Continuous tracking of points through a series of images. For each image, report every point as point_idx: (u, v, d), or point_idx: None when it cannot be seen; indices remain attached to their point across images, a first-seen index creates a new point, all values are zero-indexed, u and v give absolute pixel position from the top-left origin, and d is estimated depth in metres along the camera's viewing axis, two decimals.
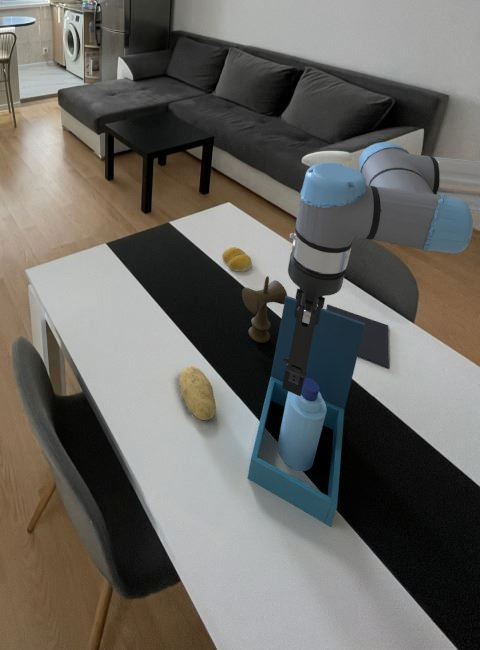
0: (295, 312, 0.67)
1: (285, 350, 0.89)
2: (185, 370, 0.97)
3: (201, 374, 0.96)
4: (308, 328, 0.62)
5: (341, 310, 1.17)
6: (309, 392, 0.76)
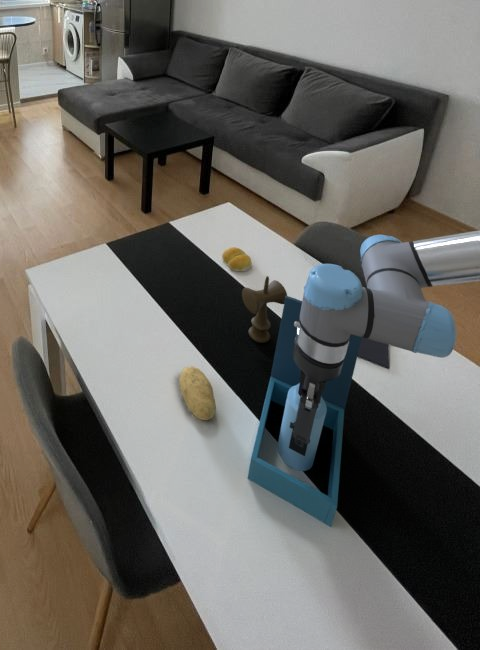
0: (299, 391, 0.75)
1: (285, 350, 0.89)
2: (185, 370, 0.97)
3: (201, 374, 0.96)
4: (310, 412, 0.71)
5: None
6: None
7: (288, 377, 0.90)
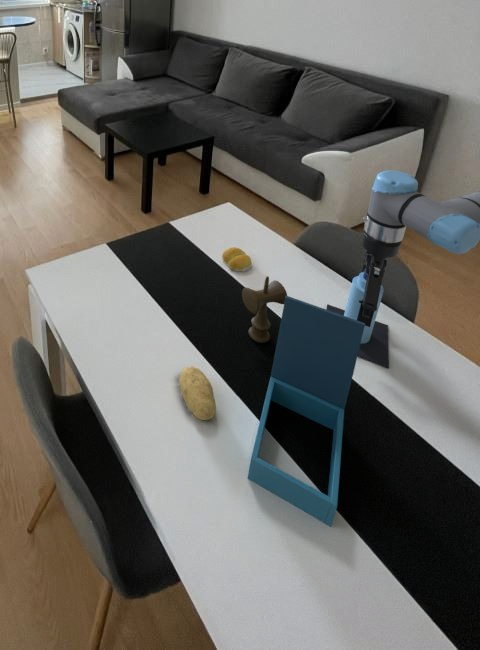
0: (366, 270, 0.99)
1: (285, 350, 0.89)
2: (185, 370, 0.97)
3: (201, 374, 0.96)
4: (378, 278, 0.95)
5: (341, 310, 1.17)
6: None
7: (288, 377, 0.90)
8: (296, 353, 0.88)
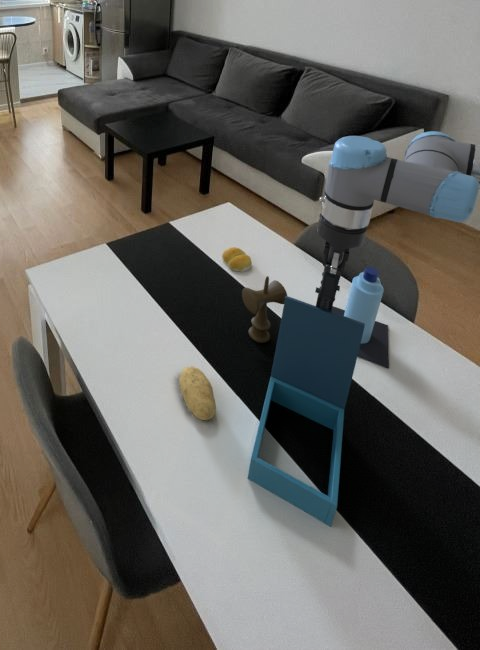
0: (324, 263, 0.80)
1: (285, 350, 0.89)
2: (185, 370, 0.97)
3: (201, 374, 0.96)
4: (334, 278, 0.77)
5: (341, 310, 1.17)
6: (371, 275, 1.01)
7: (288, 377, 0.90)
8: (296, 353, 0.88)
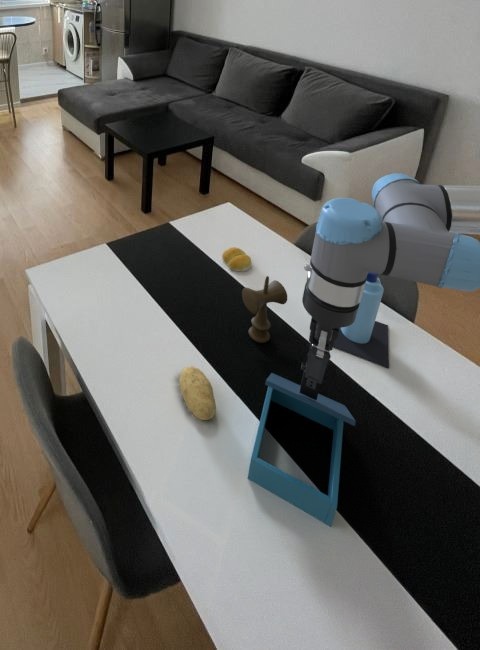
0: (310, 339, 0.70)
1: None
2: (185, 370, 0.97)
3: (201, 374, 0.96)
4: (322, 361, 0.66)
5: None
6: (371, 275, 1.01)
7: None
8: None
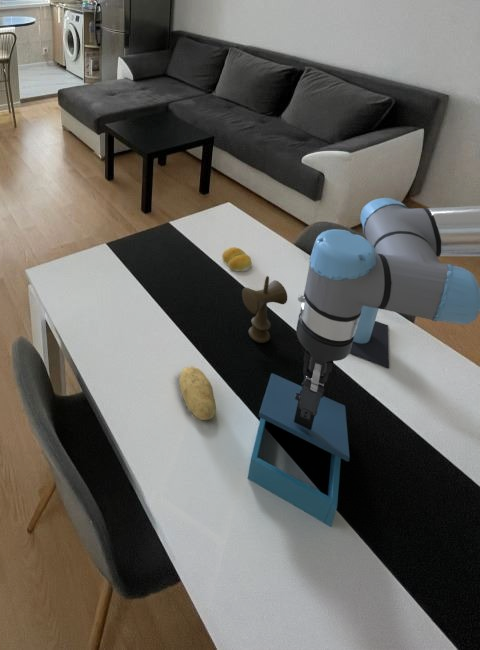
0: (304, 370, 0.69)
1: None
2: (185, 370, 0.97)
3: (201, 374, 0.96)
4: (316, 394, 0.65)
5: None
6: None
7: None
8: None
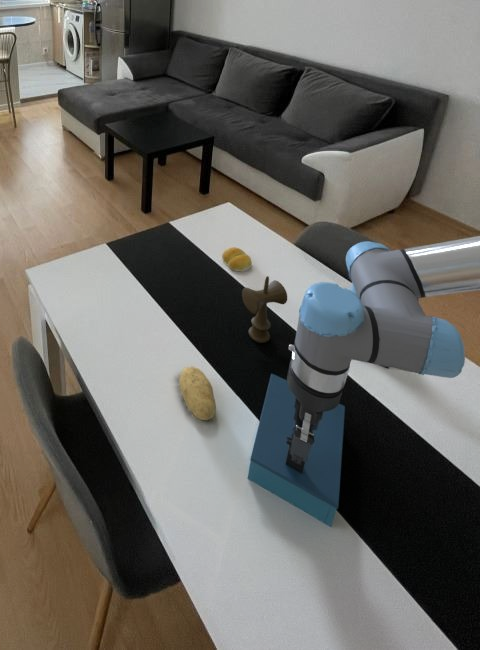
0: (295, 417, 0.69)
1: None
2: (185, 370, 0.97)
3: (201, 374, 0.96)
4: (306, 443, 0.66)
5: None
6: None
7: None
8: None
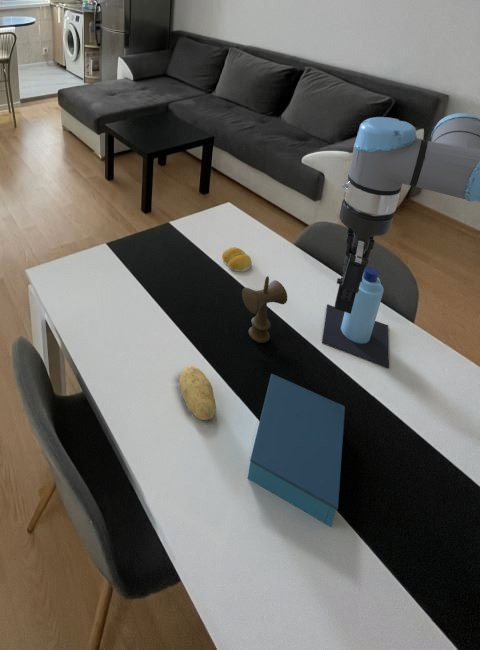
0: (346, 252, 0.76)
1: None
2: (185, 370, 0.97)
3: (201, 374, 0.96)
4: (359, 268, 0.73)
5: None
6: (371, 275, 1.01)
7: None
8: None
